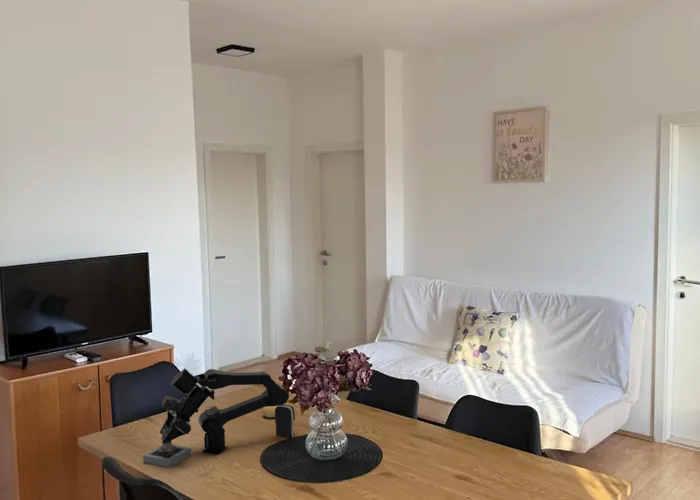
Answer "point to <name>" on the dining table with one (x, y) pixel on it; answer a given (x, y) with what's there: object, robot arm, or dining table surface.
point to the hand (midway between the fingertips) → (162, 437)
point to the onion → (269, 411)
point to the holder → (155, 458)
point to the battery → (284, 420)
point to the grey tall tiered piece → (166, 445)
